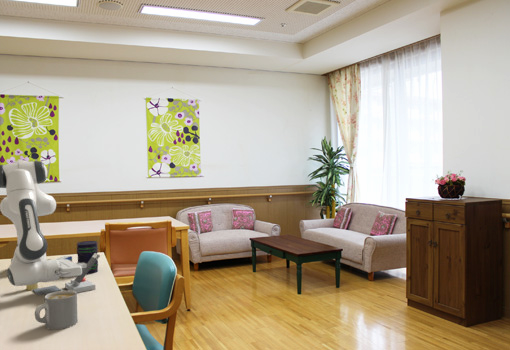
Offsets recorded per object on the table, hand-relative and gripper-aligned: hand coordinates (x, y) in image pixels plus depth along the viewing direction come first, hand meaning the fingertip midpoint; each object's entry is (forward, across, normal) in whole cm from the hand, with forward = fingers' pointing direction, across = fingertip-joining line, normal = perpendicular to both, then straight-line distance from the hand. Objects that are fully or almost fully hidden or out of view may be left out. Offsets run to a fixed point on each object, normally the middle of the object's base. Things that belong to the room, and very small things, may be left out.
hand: (85, 264), depth 192 cm
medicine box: (0, +31, +10) cm, 33 cm away
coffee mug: (-23, -39, +10) cm, 47 cm away
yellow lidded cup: (-18, +15, +10) cm, 26 cm away
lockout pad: (-14, +7, +10) cm, 19 cm away
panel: (-2, +1, +10) cm, 10 cm away
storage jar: (+11, +29, +10) cm, 33 cm away
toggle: (-4, 0, +7) cm, 8 cm away
